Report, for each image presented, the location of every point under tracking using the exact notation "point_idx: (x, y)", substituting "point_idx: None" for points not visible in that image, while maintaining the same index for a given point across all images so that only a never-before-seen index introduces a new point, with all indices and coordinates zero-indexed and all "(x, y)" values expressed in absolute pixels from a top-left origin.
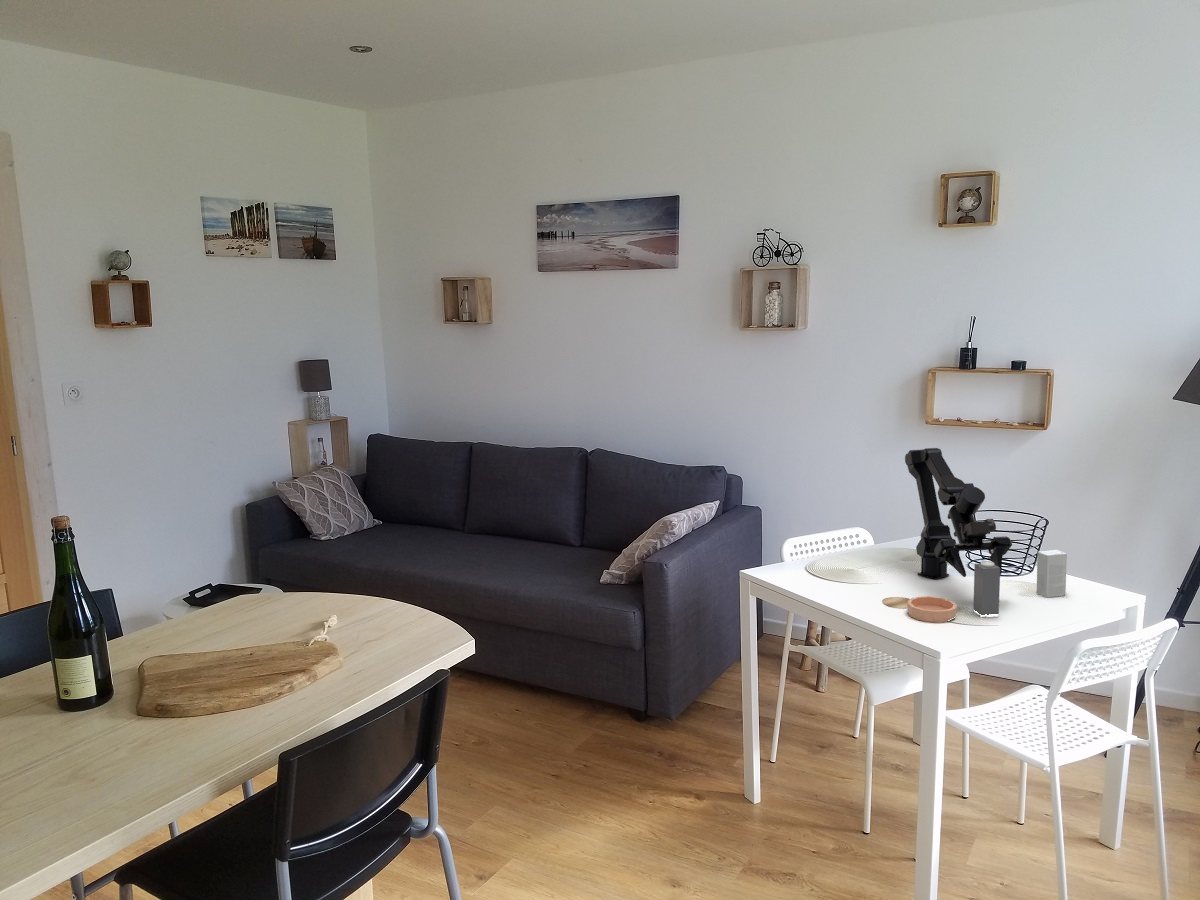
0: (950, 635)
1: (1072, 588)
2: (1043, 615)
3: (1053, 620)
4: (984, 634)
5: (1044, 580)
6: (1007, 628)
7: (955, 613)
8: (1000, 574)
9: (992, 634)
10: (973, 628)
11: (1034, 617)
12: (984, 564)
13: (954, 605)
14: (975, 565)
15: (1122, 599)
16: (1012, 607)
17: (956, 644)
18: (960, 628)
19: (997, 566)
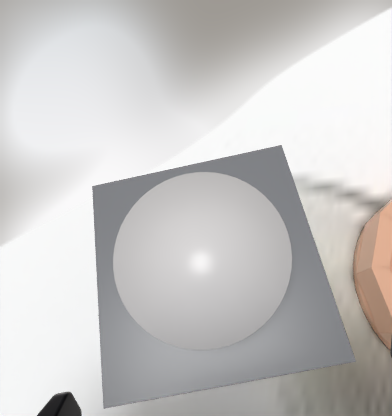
0: (380, 88)
1: None
2: (10, 304)
3: (7, 251)
4: (271, 108)
5: None
6: (186, 163)
7: (365, 234)
8: (66, 397)
9: (247, 111)
10: (298, 151)
11: (53, 278)
12: (252, 190)
13: (382, 255)
14: (339, 327)
15: None
16: (81, 411)
17: (364, 33)
18: (343, 147)
19: (98, 236)
